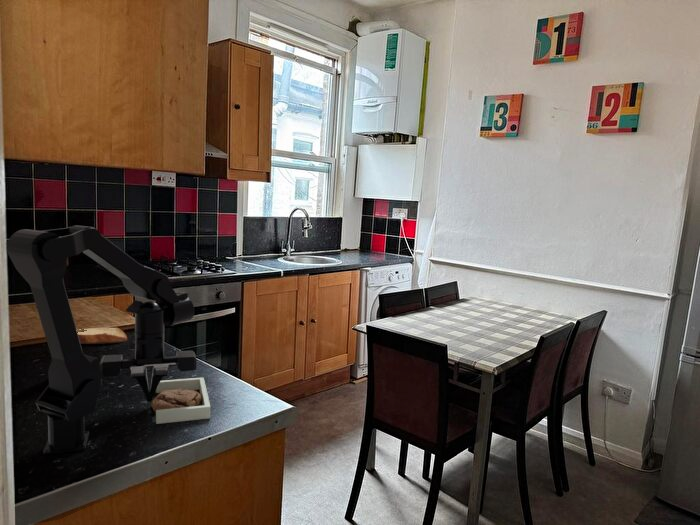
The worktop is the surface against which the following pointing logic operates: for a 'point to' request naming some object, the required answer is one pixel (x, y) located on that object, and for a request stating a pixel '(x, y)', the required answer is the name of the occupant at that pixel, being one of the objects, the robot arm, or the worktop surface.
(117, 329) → the slice of bread
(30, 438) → the worktop surface
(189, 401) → the cookie
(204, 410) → the box
